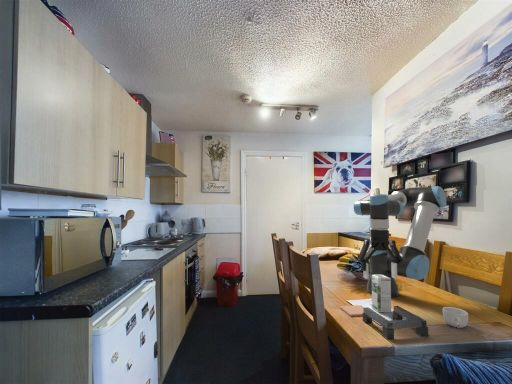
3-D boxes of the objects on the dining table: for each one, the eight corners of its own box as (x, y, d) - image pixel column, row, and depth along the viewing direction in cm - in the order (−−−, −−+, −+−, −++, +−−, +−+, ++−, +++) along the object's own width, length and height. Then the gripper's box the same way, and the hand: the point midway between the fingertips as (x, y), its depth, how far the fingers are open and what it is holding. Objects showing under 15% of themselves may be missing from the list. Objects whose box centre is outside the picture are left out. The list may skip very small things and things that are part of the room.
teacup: (441, 319, 101) (440, 305, 101) (465, 323, 98) (464, 308, 98) (446, 329, 92) (446, 314, 93) (473, 334, 89) (472, 318, 89)
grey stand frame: (398, 318, 101) (398, 305, 102) (428, 336, 87) (427, 321, 88) (362, 320, 99) (362, 307, 99) (387, 339, 85) (386, 323, 85)
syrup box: (371, 307, 112) (370, 274, 114) (384, 307, 113) (383, 274, 114) (378, 312, 107) (377, 277, 108) (392, 312, 107) (391, 277, 108)
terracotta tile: (360, 306, 113) (360, 305, 113) (373, 315, 104) (373, 313, 104) (339, 308, 112) (339, 306, 112) (350, 316, 103) (350, 314, 103)
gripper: (398, 228, 118) (399, 275, 116) (348, 228, 114) (349, 276, 112) (411, 230, 111) (412, 279, 109) (357, 229, 107) (358, 281, 105)
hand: (380, 278), depth 111 cm, fingers open, 13 cm apart
